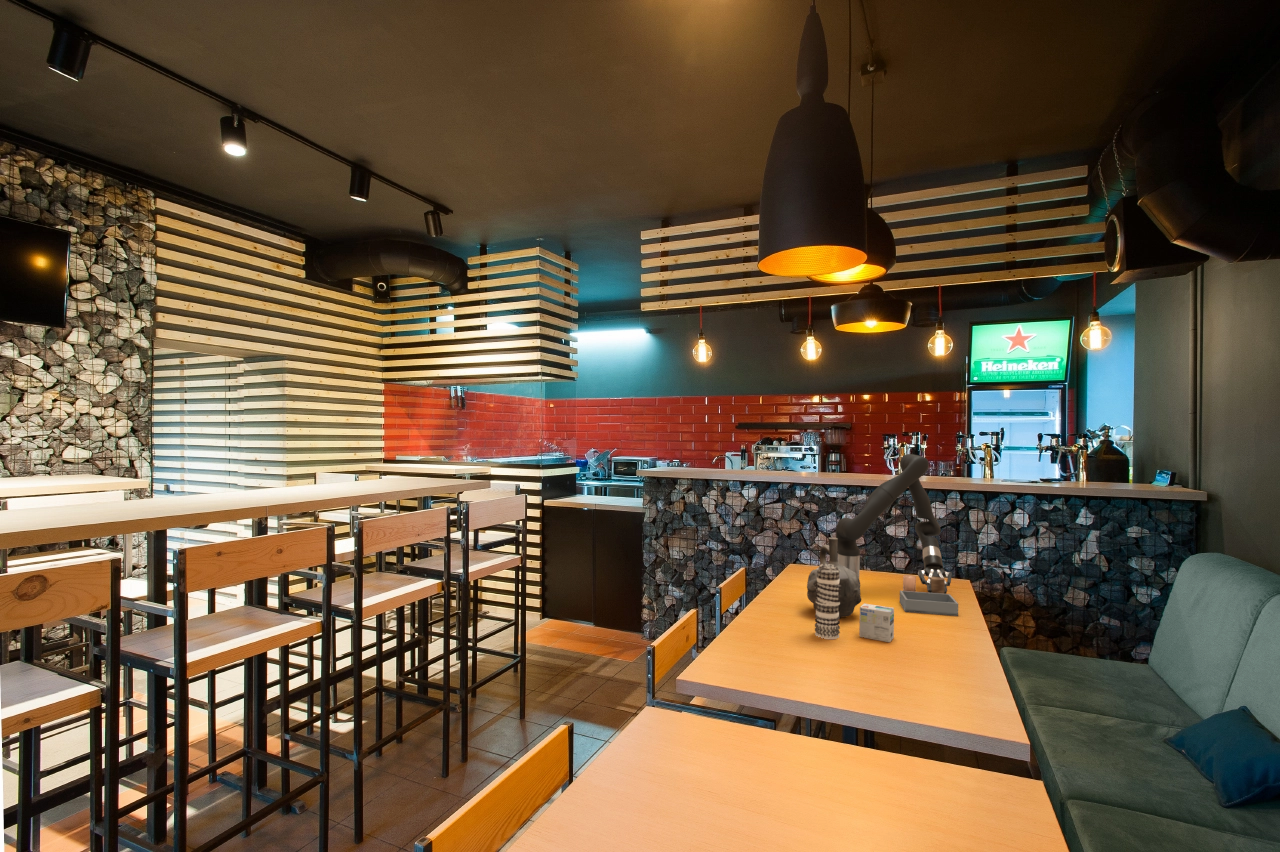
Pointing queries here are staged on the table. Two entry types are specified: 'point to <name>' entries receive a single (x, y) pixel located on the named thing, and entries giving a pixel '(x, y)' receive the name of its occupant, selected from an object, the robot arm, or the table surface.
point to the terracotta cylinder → (909, 583)
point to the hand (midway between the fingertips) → (937, 592)
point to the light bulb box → (876, 622)
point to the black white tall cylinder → (827, 602)
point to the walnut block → (937, 585)
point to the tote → (928, 603)
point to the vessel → (847, 582)
